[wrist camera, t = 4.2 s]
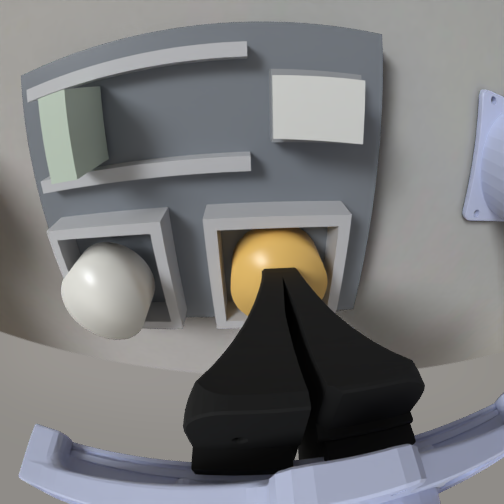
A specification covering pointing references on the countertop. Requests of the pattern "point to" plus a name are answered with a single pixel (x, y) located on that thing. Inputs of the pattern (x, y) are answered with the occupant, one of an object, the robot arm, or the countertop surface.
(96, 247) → the white button
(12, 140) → the countertop surface
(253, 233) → the amber button
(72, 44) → the countertop surface
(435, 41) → the countertop surface
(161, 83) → the switch panel
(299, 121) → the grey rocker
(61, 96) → the sage paddle
